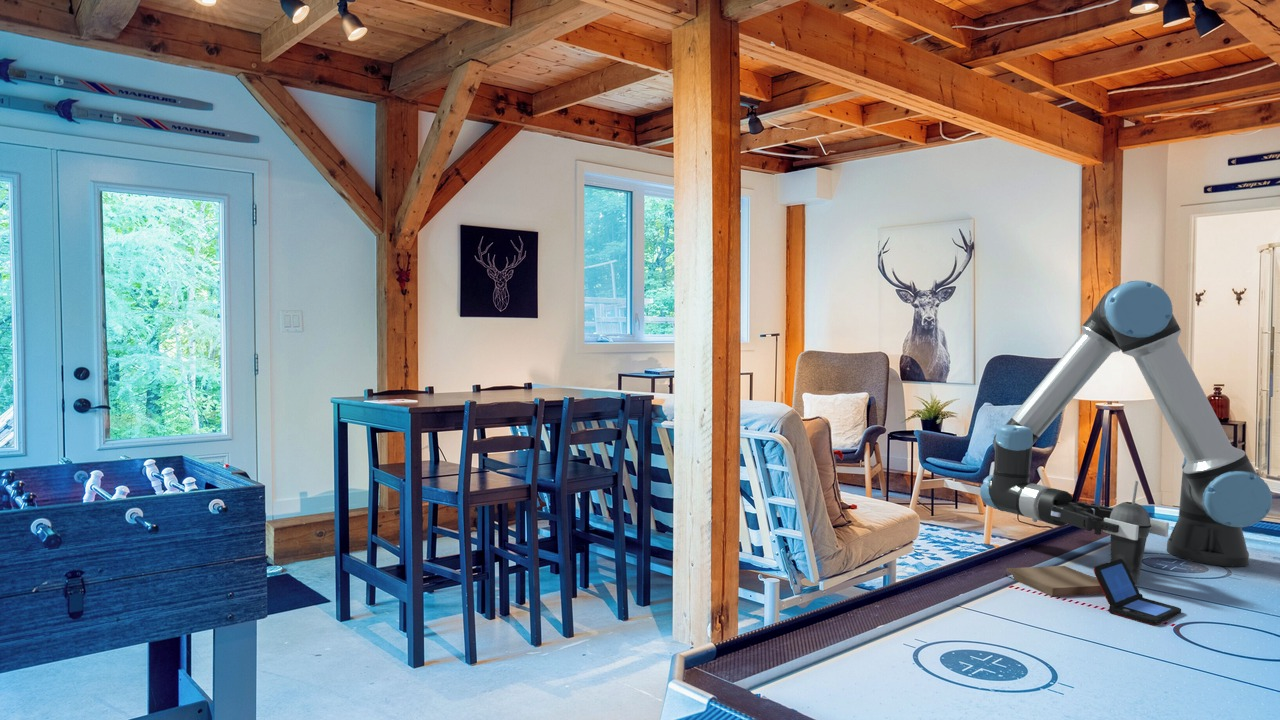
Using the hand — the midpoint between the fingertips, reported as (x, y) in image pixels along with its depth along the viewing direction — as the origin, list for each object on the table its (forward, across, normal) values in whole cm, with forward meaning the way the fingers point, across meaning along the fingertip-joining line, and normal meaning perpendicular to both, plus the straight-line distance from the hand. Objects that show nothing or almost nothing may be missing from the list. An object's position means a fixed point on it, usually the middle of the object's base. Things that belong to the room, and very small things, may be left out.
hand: (1152, 531), depth 161 cm
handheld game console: (+7, +15, -12) cm, 21 cm away
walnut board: (-7, +16, -11) cm, 21 cm away
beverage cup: (-5, 0, -11) cm, 12 cm away
